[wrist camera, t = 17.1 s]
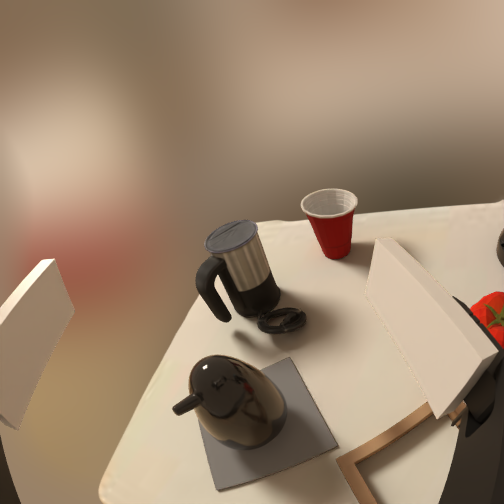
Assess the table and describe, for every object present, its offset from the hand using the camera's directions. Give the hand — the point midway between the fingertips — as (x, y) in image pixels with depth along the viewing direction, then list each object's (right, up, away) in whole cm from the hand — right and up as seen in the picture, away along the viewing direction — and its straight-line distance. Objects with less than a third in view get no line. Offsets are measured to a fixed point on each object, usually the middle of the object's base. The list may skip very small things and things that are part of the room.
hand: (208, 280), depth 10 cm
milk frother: (+5, -9, +39) cm, 41 cm away
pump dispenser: (+2, -22, +22) cm, 31 cm away
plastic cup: (+19, +1, +46) cm, 50 cm away
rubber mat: (+2, -22, +22) cm, 31 cm away
